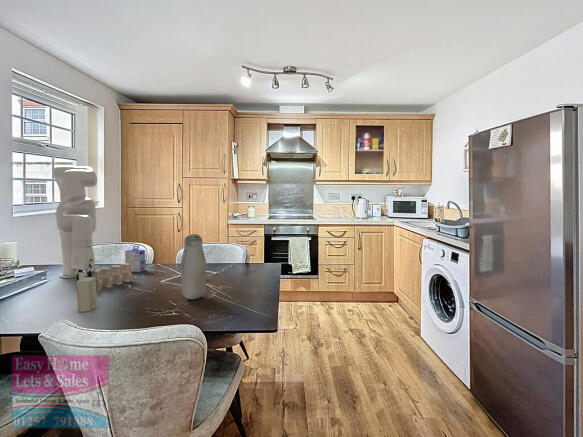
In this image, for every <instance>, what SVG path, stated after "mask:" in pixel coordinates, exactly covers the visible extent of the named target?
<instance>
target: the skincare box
mask: <svg viewBox="0 0 583 437" xmlns="http://www.w3.org/2000/svg"><path fill="white" fill-rule="evenodd" d="M76 297H77V299H76V302H77V313H85V312H86V311H89V312H92V311H93V309H95V308H97V307H98V306H97V302H98V300H97V290H96V277H84V278H82V279H80V280H78V281H77V280H76ZM82 311H83V312H82ZM86 313H87V312H86Z"/></svg>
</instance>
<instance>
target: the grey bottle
mask: <svg viewBox="0 0 583 437" xmlns="http://www.w3.org/2000/svg"><path fill="white" fill-rule="evenodd" d="M183 243H184V246H183V251H182V252H183V253H182V256H181V259H180V275H181V287H180V288H181V292H182V295H183V296H184V298H186V299H187V300H197V299H200V298H201V297H203V296H204V294H205V293H206V289H207V277H206V271H207V261H206V255H205V252H204V247H203V238H202V236H201V235H200V234H198V233H197V234H196V233H195V234H194V233H193V234H191V233H190V234H188V235H186V236H185V237H184V240H183Z"/></svg>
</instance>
